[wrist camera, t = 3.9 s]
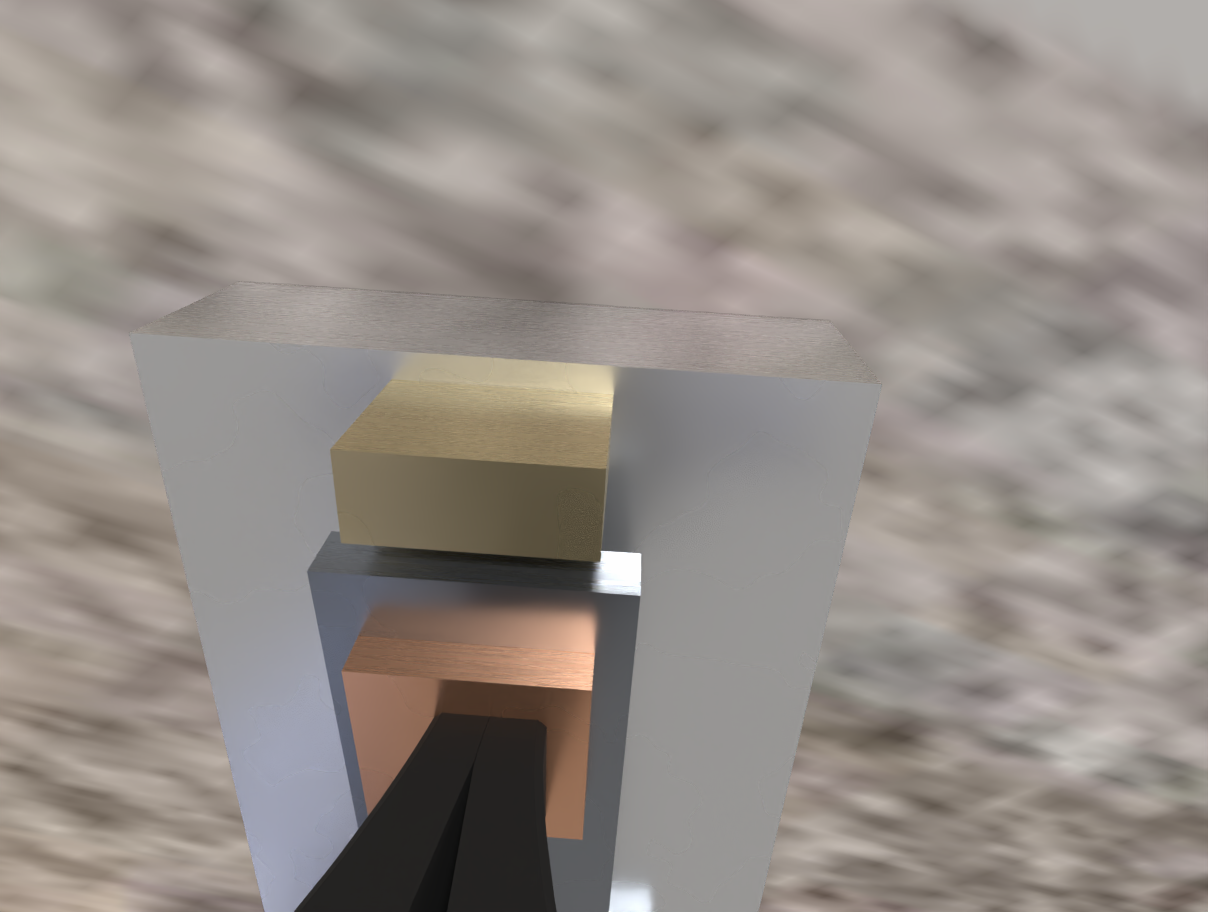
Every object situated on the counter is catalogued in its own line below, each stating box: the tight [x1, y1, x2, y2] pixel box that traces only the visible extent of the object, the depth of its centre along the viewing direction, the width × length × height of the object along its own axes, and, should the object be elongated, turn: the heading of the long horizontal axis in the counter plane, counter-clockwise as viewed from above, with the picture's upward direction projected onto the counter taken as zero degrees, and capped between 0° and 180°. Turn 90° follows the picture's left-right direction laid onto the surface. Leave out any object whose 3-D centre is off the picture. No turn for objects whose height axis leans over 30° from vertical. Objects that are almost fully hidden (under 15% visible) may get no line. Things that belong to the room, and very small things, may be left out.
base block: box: [129, 282, 882, 912], centre depth 13 cm, size 10×14×5 cm
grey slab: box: [307, 531, 641, 912], centre depth 12 cm, size 4×11×1 cm, turn 177°
